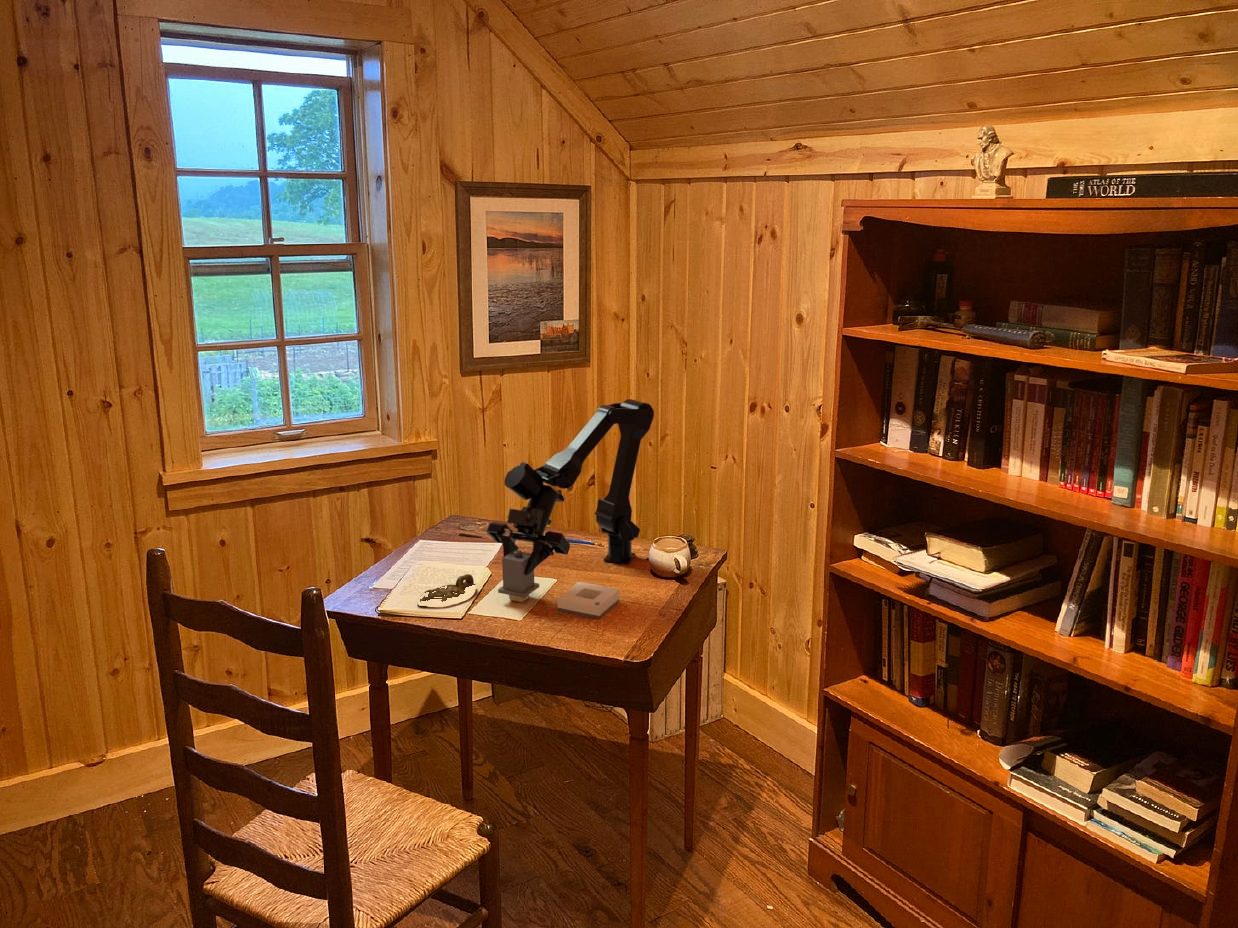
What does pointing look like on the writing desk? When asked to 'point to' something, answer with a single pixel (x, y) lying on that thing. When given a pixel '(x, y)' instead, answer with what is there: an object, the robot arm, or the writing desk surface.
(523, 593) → the grey block with knob
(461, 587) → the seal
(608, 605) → the socket
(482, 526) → the writing desk surface
